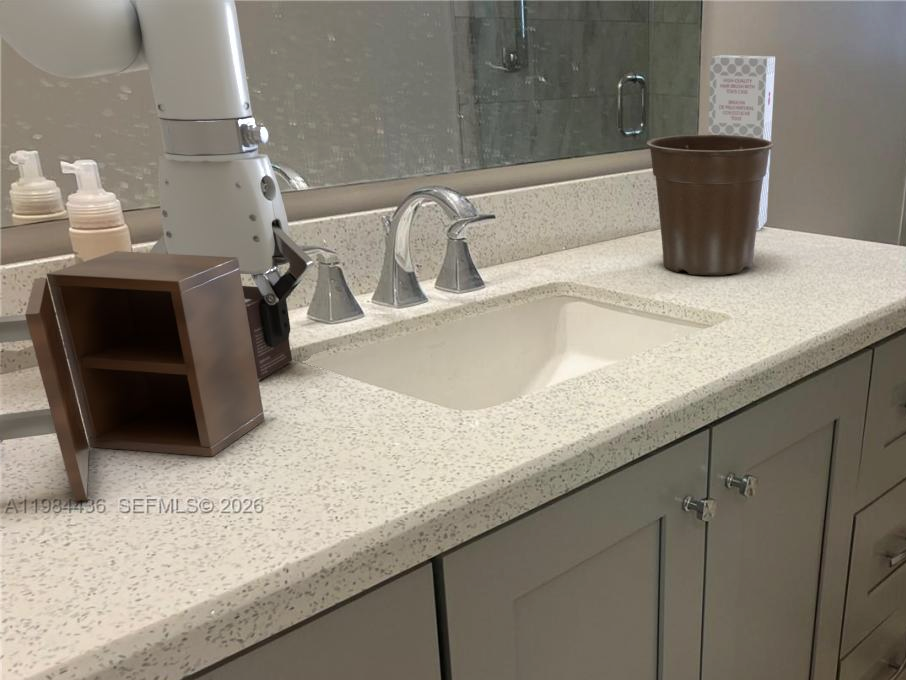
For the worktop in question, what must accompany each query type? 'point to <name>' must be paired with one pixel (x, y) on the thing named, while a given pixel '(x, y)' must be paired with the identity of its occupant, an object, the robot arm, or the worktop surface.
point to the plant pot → (709, 200)
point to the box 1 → (263, 337)
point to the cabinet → (159, 351)
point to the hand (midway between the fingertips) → (243, 339)
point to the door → (49, 387)
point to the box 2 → (743, 104)
